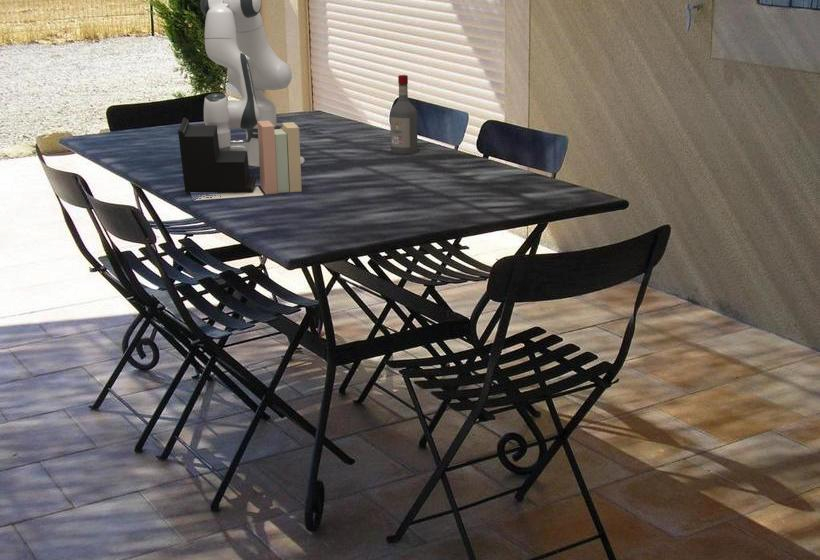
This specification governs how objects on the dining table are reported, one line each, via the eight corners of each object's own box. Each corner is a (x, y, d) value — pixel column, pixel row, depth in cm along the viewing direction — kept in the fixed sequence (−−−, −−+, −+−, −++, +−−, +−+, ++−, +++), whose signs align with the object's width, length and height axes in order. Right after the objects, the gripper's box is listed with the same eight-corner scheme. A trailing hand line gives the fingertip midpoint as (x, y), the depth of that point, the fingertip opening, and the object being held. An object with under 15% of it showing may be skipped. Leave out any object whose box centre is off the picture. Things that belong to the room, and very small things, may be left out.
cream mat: (257, 187, 424) (257, 186, 424) (264, 196, 411) (263, 195, 411) (188, 192, 418) (188, 191, 418) (192, 201, 405) (192, 200, 405)
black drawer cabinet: (256, 178, 423) (250, 116, 411) (253, 192, 414) (246, 129, 402) (190, 179, 424) (182, 117, 412) (184, 193, 415) (176, 130, 402)
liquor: (407, 155, 472) (406, 77, 463) (388, 153, 477) (386, 76, 468) (420, 151, 479) (419, 75, 471) (401, 149, 484) (399, 73, 475)
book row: (295, 184, 426) (293, 119, 419) (301, 191, 415) (299, 124, 408) (260, 187, 423) (257, 121, 416) (265, 194, 412) (262, 126, 405)
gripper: (247, 138, 426) (249, 176, 430) (188, 141, 421) (190, 180, 426) (249, 141, 420) (251, 180, 424) (189, 144, 416) (192, 184, 420)
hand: (220, 180), depth 425 cm, fingers closed
